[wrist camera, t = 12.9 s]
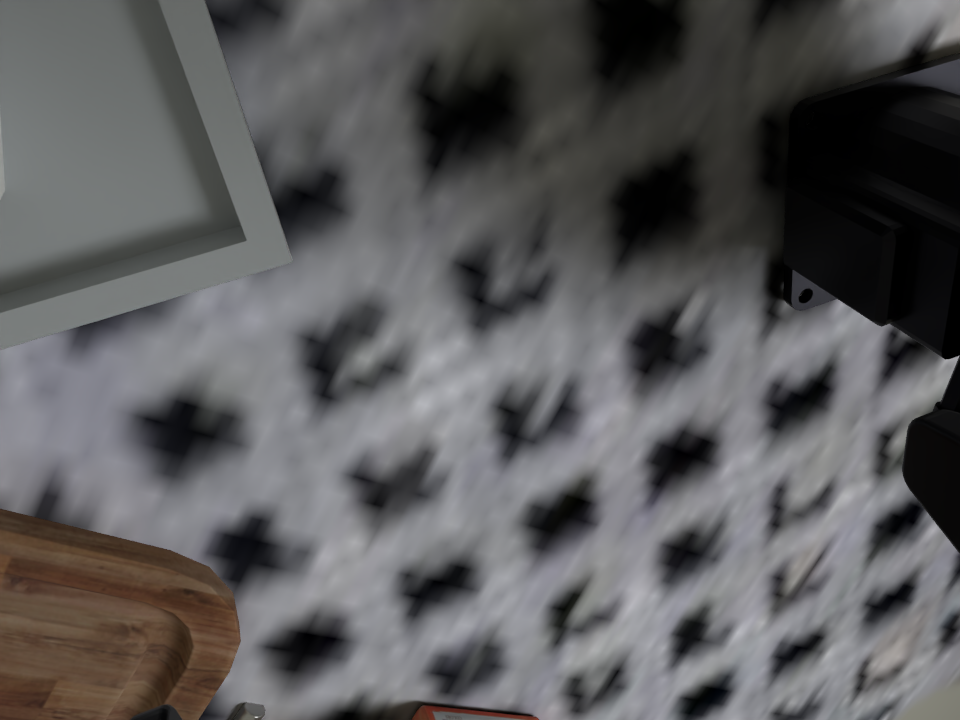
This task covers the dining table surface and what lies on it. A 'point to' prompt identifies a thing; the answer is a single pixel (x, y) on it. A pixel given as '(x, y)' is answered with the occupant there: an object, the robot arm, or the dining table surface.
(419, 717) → the cracker box
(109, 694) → the chopping board
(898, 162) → the robot arm
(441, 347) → the dining table surface
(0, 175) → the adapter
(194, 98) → the tray
